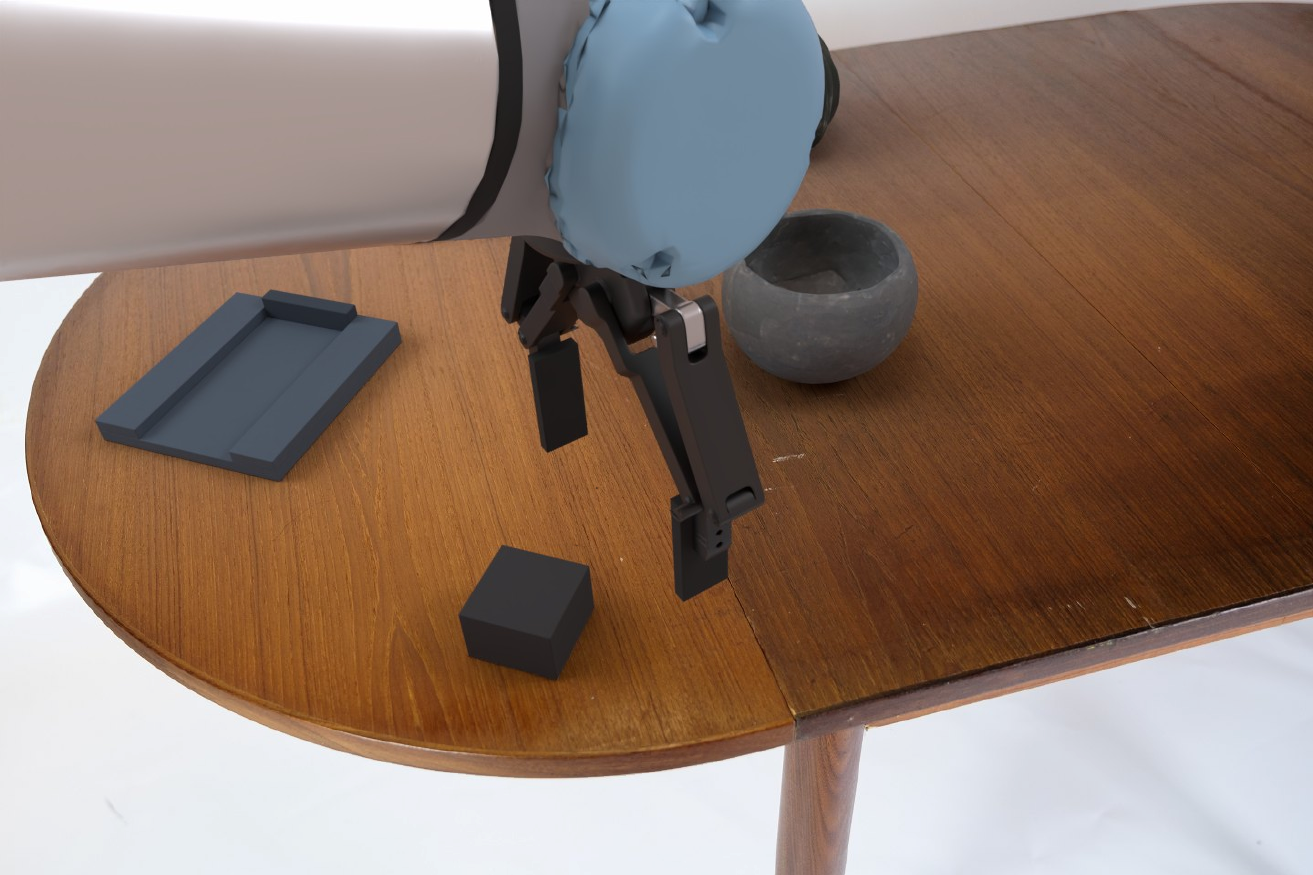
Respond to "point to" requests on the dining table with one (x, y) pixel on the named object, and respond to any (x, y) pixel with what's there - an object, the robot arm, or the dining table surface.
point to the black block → (527, 611)
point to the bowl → (822, 296)
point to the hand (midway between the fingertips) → (628, 508)
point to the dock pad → (253, 383)
